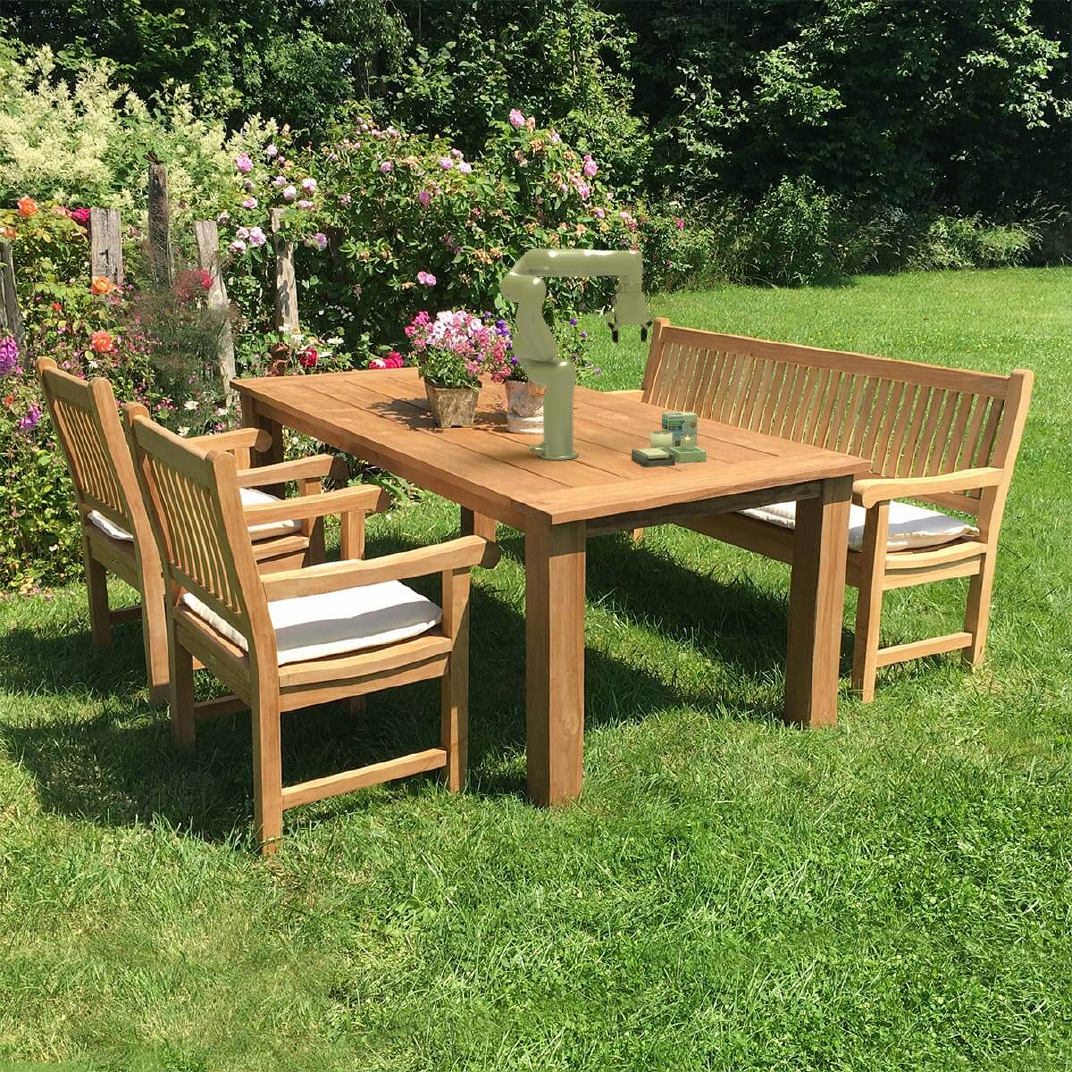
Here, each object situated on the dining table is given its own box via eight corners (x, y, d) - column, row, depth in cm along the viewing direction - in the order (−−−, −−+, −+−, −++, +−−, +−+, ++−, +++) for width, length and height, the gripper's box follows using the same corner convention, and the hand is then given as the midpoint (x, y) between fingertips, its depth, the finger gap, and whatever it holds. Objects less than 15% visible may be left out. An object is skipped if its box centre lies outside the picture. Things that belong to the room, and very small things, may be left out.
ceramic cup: (654, 456, 384) (655, 434, 382) (647, 452, 391) (647, 430, 389) (675, 455, 386) (675, 433, 384) (667, 451, 393) (667, 429, 391)
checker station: (644, 467, 370) (644, 456, 369) (631, 459, 381) (631, 448, 380) (676, 464, 372) (676, 454, 371) (662, 457, 384) (662, 446, 383)
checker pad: (648, 458, 370) (648, 455, 370) (637, 452, 380) (637, 449, 379) (669, 457, 372) (669, 454, 372) (657, 451, 381) (657, 448, 381)
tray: (679, 462, 375) (679, 453, 374) (668, 457, 384) (669, 447, 383) (706, 461, 377) (706, 451, 377) (694, 455, 386) (695, 446, 385)
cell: (683, 459, 378) (683, 437, 376) (678, 456, 382) (678, 434, 380) (696, 458, 379) (696, 436, 377) (690, 455, 383) (691, 433, 381)
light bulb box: (667, 448, 398) (668, 415, 395) (660, 444, 404) (661, 412, 401) (697, 446, 401) (698, 414, 398) (689, 442, 407) (690, 410, 404)
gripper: (608, 290, 384) (608, 344, 389) (659, 289, 389) (658, 342, 393) (601, 289, 391) (600, 341, 396) (651, 287, 396) (650, 339, 400)
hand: (629, 342), depth 395 cm, fingers open, 9 cm apart
